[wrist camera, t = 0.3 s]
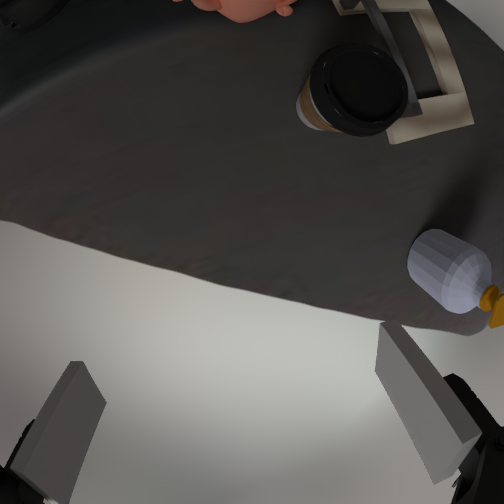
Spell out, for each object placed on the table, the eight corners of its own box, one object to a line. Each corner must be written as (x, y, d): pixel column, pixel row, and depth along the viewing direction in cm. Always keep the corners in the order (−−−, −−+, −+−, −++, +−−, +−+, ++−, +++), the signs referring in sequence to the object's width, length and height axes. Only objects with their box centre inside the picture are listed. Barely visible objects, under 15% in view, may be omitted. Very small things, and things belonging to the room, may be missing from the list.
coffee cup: (277, 81, 32) (303, 39, 17) (341, 72, 31) (398, 36, 17) (294, 146, 34) (333, 143, 20) (357, 134, 34) (424, 130, 20)
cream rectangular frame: (313, -32, 26) (326, -59, 18) (401, -32, 24) (423, -51, 17) (390, 144, 35) (420, 144, 27) (468, 123, 33) (500, 124, 26)
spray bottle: (410, 227, 38) (538, 307, 15) (454, 228, 39) (572, 294, 16) (401, 285, 41) (501, 388, 18) (444, 280, 42) (543, 365, 19)
